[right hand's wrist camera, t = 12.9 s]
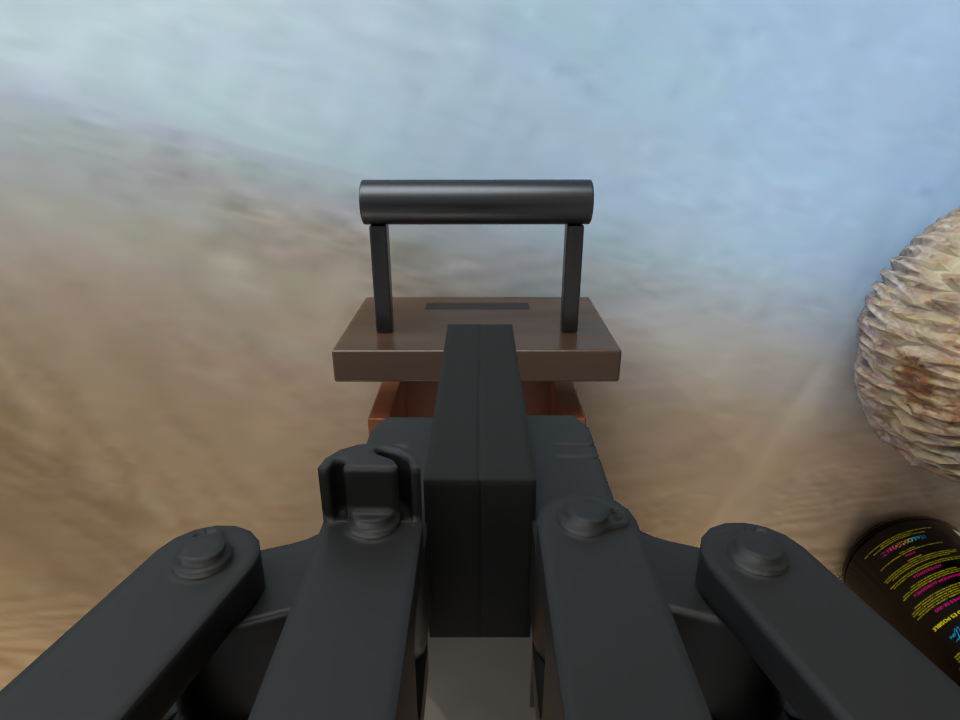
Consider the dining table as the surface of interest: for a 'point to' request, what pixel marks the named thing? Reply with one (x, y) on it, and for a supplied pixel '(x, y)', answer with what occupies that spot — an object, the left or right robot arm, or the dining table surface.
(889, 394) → the seashell
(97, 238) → the dining table surface
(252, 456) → the dining table surface
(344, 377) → the drawer
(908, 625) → the supplement container
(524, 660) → the cabinet
